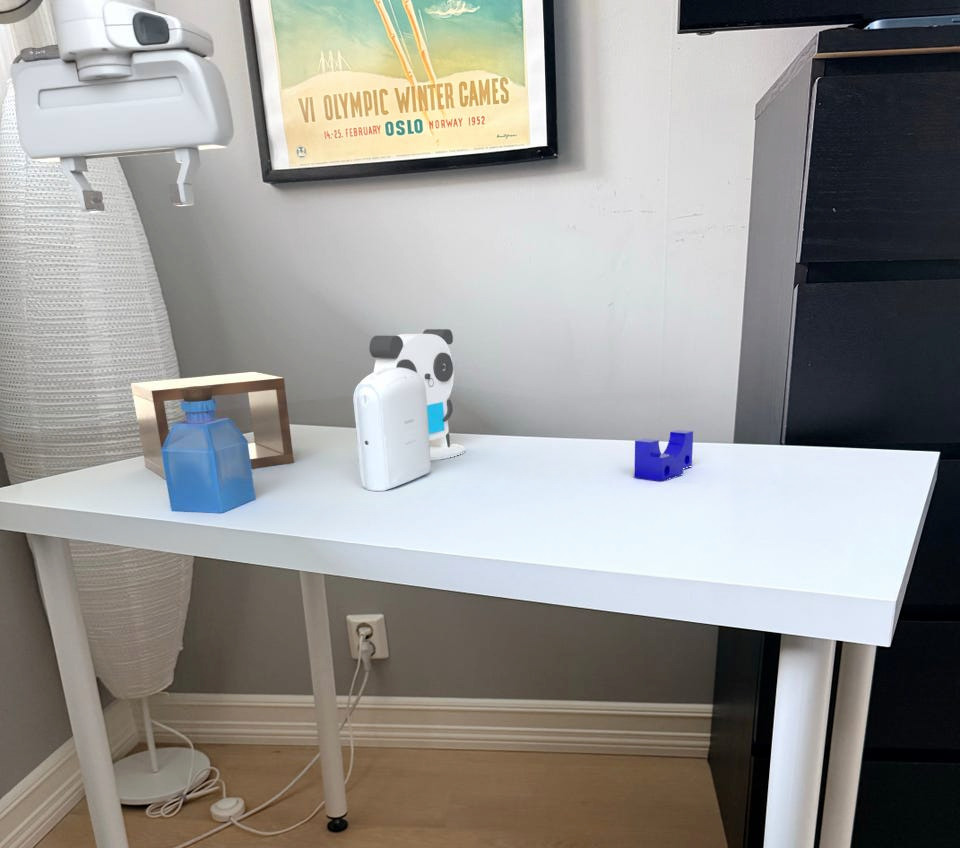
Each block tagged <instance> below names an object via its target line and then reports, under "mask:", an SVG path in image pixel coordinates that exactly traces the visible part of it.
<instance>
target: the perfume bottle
mask: <svg viewBox="0 0 960 848" xmlns="http://www.w3.org/2000/svg"><path fill="white" fill-rule="evenodd" d="M180 391H181V393H182V396H183V398H184V399H181V400H180V407H181V408H180V409H181V412H183V413H184V414H185V415H184V416H185V420H184V421H179V422H175V423H172V425H171V427H170V430H169V434H168V436H167V438H166V441H165V443H164V445H163V447H162V450H161V453H162V459H163V465H164V471H165V476H166V480H165V481H166V482H165V483H166V488H167V493H168V494H167V495H168V500H169V505H170V511H172V512H191V513H213V514H214V513H215V514H223V513H226V512H228V511H231V510H233V509H234V508H238V507H240V506H242V505H245V504H248V503H250V502H252V501H254V500H256V493H255V492H256V491H255V486H254V478H253V477H254V476H253V471H252V470H253V469H251V462H250V455H249V447H248V444H249V441H248V440H247V438H246V437H245V436H244V435H243V433H242V432H241V430H239V428H238V427H237V426H236V424H235V423H234V422H233V421H232V420H231V418H230V417H226V418H225V417H216V410H217V409H218V405H217V399H216V397H213V396H212V386H192V387H184V388H180Z"/></svg>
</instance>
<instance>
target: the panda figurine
mask: <svg viewBox="0 0 960 848" xmlns="http://www.w3.org/2000/svg"><path fill="white" fill-rule="evenodd" d="M453 341H454V335H453V332H452V330H451V329H448V328H427V329H424V330H423V331H422V333H399V334H396V335H374V336H373V337H372V338H371V339H370V341H369V348H368V349H369V353H370V356H371V357H372V358H375V363H374V367H373V372H375V371H377V370H379V369H382V368H388V367H395V368H407V369H410V370H412V371H414V372H416V373H418V374H419V375H420V376H421V378H422V379H423V381H424V384H425V388H426V399H427V413H428V427H429V442H430V458H431V461H439V460H440V461H441V460H447V459H450V457H451V458H455V457H458V456H457V455H459V456H461V455H463V454H465V453H466V447H465V446H464V445H462V444H457V443H451V438H450V431H449V419H450V418H451V416H452V414H453V409H454V408H453V403H452V400H451V399H449V397H450V395H451V393H452V390H453V386H454V381H455V368H454V361H453V358H452V357H453V356H452V354H451V350H450V347H449V345H452V344H453ZM464 452H465V453H464ZM460 454H461V455H460ZM454 456H455V457H454Z"/></svg>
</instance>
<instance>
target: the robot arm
mask: <svg viewBox="0 0 960 848" xmlns="http://www.w3.org/2000/svg"><path fill="white" fill-rule="evenodd" d="M43 1H44V0H0V25H9V24H15V23H18V22H22V21H23V20H26V19H27V18H29V17H30V16H31V15H33V14H34V13H35V12H36V11H37V10H38V9H39V8H40V6H41V4H42V3H43ZM48 2H49V5H50V11H51V16H52V21H53V27H54V31H55V37H56V38H55V39H56V43H57V44H49V45H45V46H41V47H25V48H22V49H21V50H20V52H19V54H18V55H17V56H15V58H14V59H13V61H12V64H10V77H11V82H12V86H13V91H14V106H15V119H16V126H17V134H18V139H19V145H20V147H21V150H22V151H23V152H24V153H25V154H26V156H27V157H28V158H29V159H30V160H32V161H36V162H43V163H60V167H61V171H62V174H63V175H64V177H65V178H66V179H67V180H68V182H69V183H70V184H71V186H72V187H73V189H74V190H75V192H77V196H78V200H79V201H78V202H79V206H80V209H81V211H82V212H83V213H90V214H91V213H101V212H104V211H105V207H106V206H105V204H104V201H103V200H104V196H103V191H99V190H94V189H93V187H92V185H91V184H90V182H89V180H88V179H87V177H86V176H85V174H87V173H89V170H88V169H89V168H88V165H87V161H88V160H97V159H98V160H99V159H108V158H120V157H122V158H123V157H133V156H144V155H157V154H167V153H168V154H169V153H174V158H175V162H176V163H180V164H181V165H180V168H179V172H178V176H177V179H176V183H169V184H168V188H169V193H170V195H171V196H170V201H171V204H172V206H175V207H187V206H194V205H195V197H194V196H195V195H194V190H193V185H194V184H195V180H196V177H197V175H198V172H199V170H200V167H201V157H200V151H202V150H204V151H205V150H215V149H227V148H228V147H229V146H230V144H231V142H232V140H233V137H234V134H235V131H234V121H233V114H232V109H231V104H230V99H229V94H228V91H227V87H226V82H225V80H224V77H223V75H222V72H221V70H220V69H219V67H218V66H217V65H216V64H215V63H214V62H212V61H211V60H210V59H212V58H213V57H214V53H215V46H214V45H215V44H214V40H213V37H212V35H211V34H210V33H209V32H208V31H206V30H204V29H203V28H201V27H200V26H197V25H196V24H193V23H191V22H189V21H186V20H184V19H181V18H179V17H176V16H172V15H170V14H167V13H164V12H161V11H157V7H156V1H155V0H49V1H48ZM21 61H23V62H21Z"/></svg>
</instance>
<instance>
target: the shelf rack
mask: <svg viewBox="0 0 960 848" xmlns="http://www.w3.org/2000/svg"><path fill="white" fill-rule="evenodd" d="M192 386H212V397H219V396H228V395H237V394H246V393H247V395H248V401H249V403H248V404H249V409H250V410H249V411H250V416H251V417H250V418H251V425H252V432H253V439H254V442H251V443H250V442H249V443H248V447H249V455H250V462H251V469H252V470H253V469H260V468H266V467H273V466H279V465H288V464H294V463H295V460H294V451H293V443H292V435H291V434H292V433H291V426H290V425H291V424H290V419H289V410H288V408H289V407H288V401H287V392H286V384H285V377H281V376H278V375H277V376H276V375H273V374H272V375H271V374H266V373H261V372H256V371H248V372H238V373H227V374H216V375H215V374H214V375H205V376H196V377H195V376H194V377H184V378H183V377H182V378H173V379H172V378H171V379H163V380H162V379H161V380H153V381H142V382H140V381H139V382H131V383H130V387H131V394H132V398H133V403H134V404H133V405H134V410H135V414H136V415H135V416H136V421H137V426H138V432H139V437H140V443H141V449H142V454H143V460H144V466H145V468H148V469H149V470H150V471H152V472H154V473H155V474H156V475H158V476H159V477H161V478H162V479H163V480H165V481H166V476H165V471H164V465H163V459H162V453H161V450H162V447H163V445H164V443H165V441H166V438H167V436H168V434H169V432H170V430H169V424H168V418H167V411H166V406H165V402H168V401H178V400H180V401H181V400H184V398H183V396H182V393H181V391H180V388H184V387H192Z"/></svg>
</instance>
